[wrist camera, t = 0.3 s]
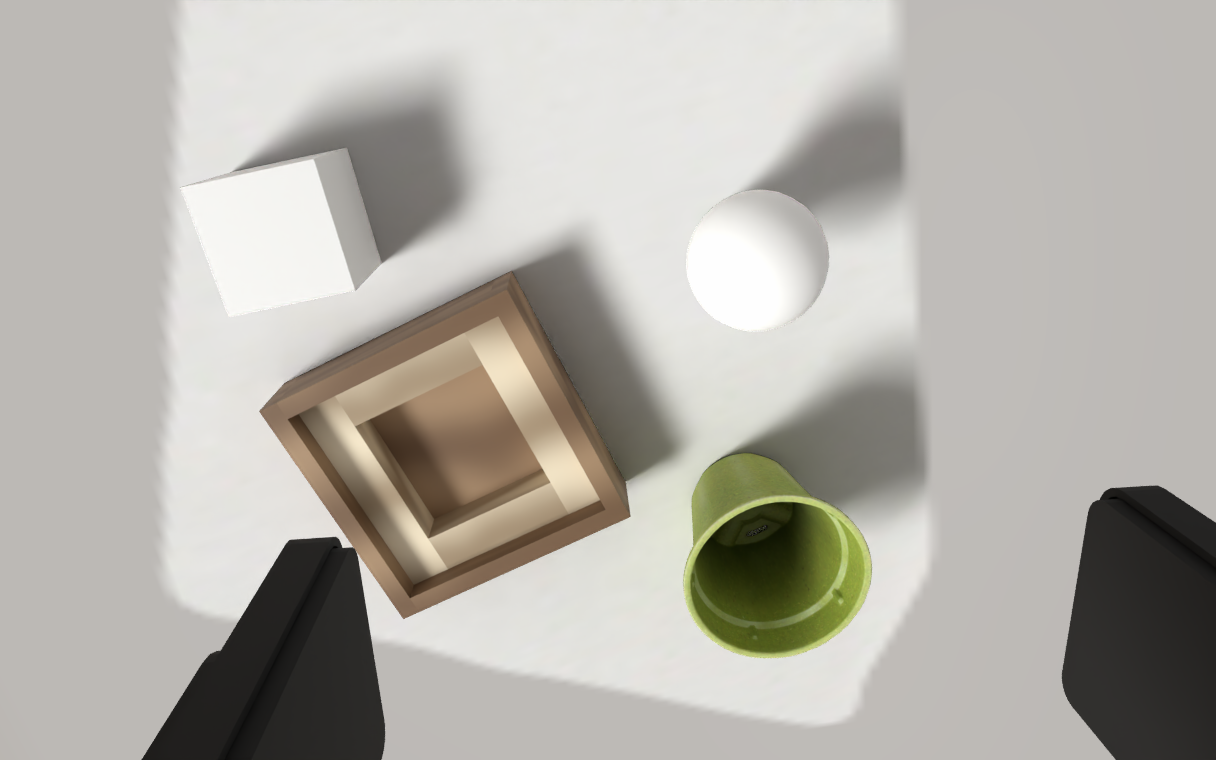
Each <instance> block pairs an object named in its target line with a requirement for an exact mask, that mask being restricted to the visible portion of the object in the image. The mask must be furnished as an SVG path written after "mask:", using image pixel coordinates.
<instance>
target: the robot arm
mask: <svg viewBox="0 0 1216 760" xmlns="http://www.w3.org/2000/svg"><path fill="white" fill-rule="evenodd" d="M1062 683H1063V688H1064V692H1065V695H1066V697H1067V699H1068V701H1069V702H1070V704H1071V706H1072V707H1073V708H1074V709H1075V711H1076V712H1077V713H1078V714H1079V715H1080V716H1081V718H1082V719H1083V720H1084V722H1085V723H1086V724H1087V725H1088V726H1089V727H1090V729H1091V730H1092V731H1093V732H1094V734H1095V735H1096V736H1097V737H1098V739H1099V740H1100V741H1101V742H1102V743H1103V744H1104V746H1105V747H1106V748H1107V750H1108V751H1109V752H1110V753H1111V754H1112V756H1113V757H1114V758H1115V759H1116V760H1216V523H1215V522H1214V521H1212V520H1211V519H1209V518H1207V517H1206V516H1205V515H1203V514H1202V513H1200V512H1199V511H1197V510H1196V509H1194V508H1193V507H1191V506H1190V505H1188V504H1187V503H1185V502H1184V501H1182V500H1181V499H1179V498H1178V497H1176V496H1175V495H1173V494H1172V493H1170V492H1169V491H1167V490H1166V489H1164V488H1162V487H1159V486H1140V487H1124V488H1110V489H1108V490H1106V491H1105V492H1104V493H1103V495H1102V496H1101V498H1100V500H1097V501H1095V502H1093V503H1092V505H1091V506H1090V508H1089V512H1088V516H1087V522H1086V528H1085V535H1084V541H1083V547H1082V553H1081V559H1080V565H1079V572H1078V578H1077V584H1076V590H1075V596H1074V602H1073V609H1072V615H1071V621H1070V627H1069V634H1068V640H1067V646H1066V652H1065V658H1064V664H1063V670H1062ZM384 743H385V723H384V716H383V710H382V703H381V697H380V691H379V685H378V678H377V672H376V666H375V660H374V654H373V648H372V641H371V635H370V629H369V623H368V617H367V610H366V604H365V598H364V592H363V586H362V580H361V573H360V567H359V561H358V556H357V553H356V550H355V549H354V548H353V547H352V548H342V545H341V543H340V540H339V539H338V538H337V537H327V538H311V539H295V540H289V541H288V542H287V543H286V545H285V546H284V548H283V550H282V551H281V553H280V555H279V556H278V558H277V559H276V561H275V563H274V564H273V566H272V568H271V569H270V571H269V573H268V574H267V576H266V577H265V579H264V581H263V582H262V584H261V586H260V587H259V589H258V591H257V592H256V594H255V596H254V597H253V599H252V600H251V602H250V604H249V605H248V607H247V609H246V610H245V612H244V614H243V615H242V617H241V618H240V620H239V622H238V623H237V625H236V627H235V628H234V630H233V632H232V633H231V635H230V636H229V638H228V640H227V641H226V643H225V645H224V646H223V648H222V650H221V651H216V652H214V653H212V654H210V655H209V656H208V657H207V658H206V659H205V661H204V662H203V663H202V665H201V666H200V668H199V669H198V671H197V673H196V674H195V676H194V677H193V679H192V681H191V682H190V684H189V685H188V687H187V689H186V690H185V692H184V693H183V695H182V696H181V698H180V700H179V701H178V703H177V705H176V706H175V708H174V709H173V711H172V712H171V714H170V716H169V717H168V719H167V720H166V722H165V723H164V725H163V727H162V728H161V730H160V731H159V733H158V734H157V736H156V738H155V739H154V741H153V742H152V744H151V746H150V747H149V749H148V750H147V752H146V754H145V755H144V757H143V758H142V760H381V759H382V755H383V751H384Z"/></svg>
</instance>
